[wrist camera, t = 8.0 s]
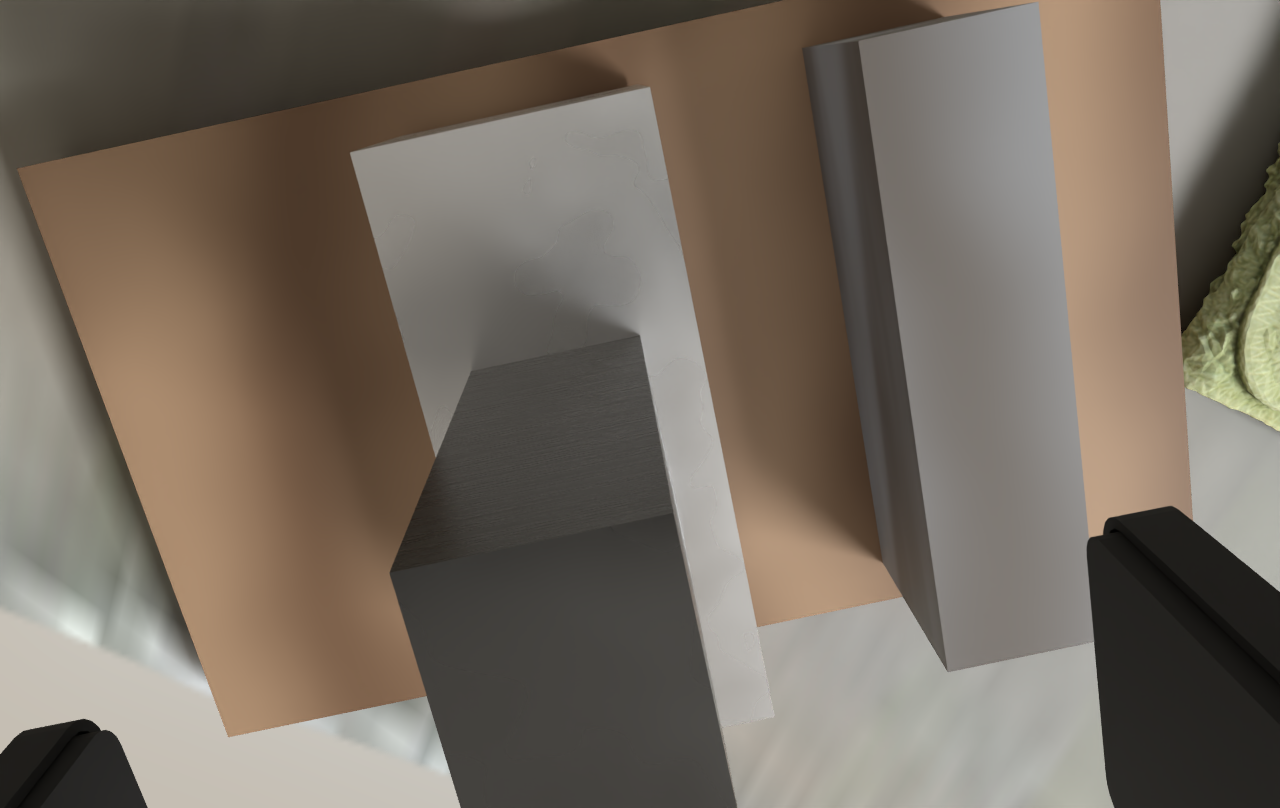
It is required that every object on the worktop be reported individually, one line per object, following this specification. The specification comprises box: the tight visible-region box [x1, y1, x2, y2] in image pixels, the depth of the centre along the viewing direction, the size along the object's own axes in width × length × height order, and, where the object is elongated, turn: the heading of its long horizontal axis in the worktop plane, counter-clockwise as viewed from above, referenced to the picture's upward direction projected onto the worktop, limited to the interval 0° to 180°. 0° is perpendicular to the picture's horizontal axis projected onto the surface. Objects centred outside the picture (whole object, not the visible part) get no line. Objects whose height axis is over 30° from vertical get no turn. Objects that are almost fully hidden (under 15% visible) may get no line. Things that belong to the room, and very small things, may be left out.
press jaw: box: [350, 84, 775, 808], centre depth 18 cm, size 5×13×13 cm, turn 12°
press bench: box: [17, 0, 1193, 737], centre depth 23 cm, size 24×14×7 cm, turn 102°
